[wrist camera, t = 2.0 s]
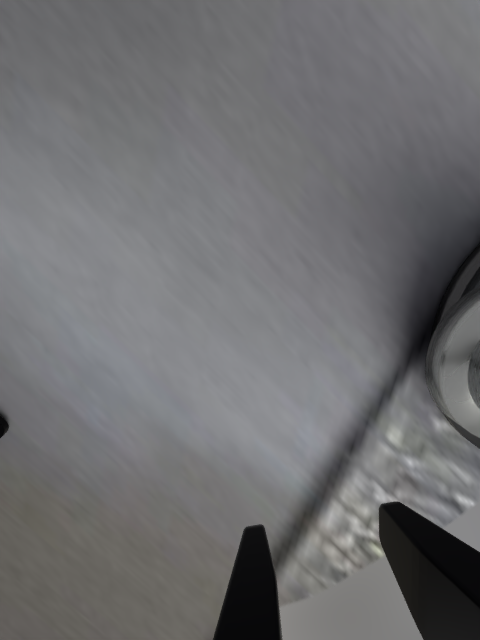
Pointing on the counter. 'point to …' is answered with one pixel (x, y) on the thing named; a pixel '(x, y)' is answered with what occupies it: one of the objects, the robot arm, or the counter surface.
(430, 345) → the cover
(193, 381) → the counter surface
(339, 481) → the counter surface
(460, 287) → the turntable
